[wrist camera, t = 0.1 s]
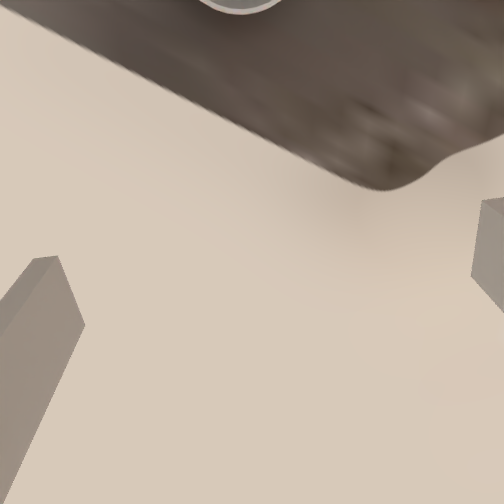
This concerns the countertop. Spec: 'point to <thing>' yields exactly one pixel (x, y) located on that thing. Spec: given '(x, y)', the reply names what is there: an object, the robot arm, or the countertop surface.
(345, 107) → the countertop surface
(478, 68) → the countertop surface
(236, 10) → the coffee mug
